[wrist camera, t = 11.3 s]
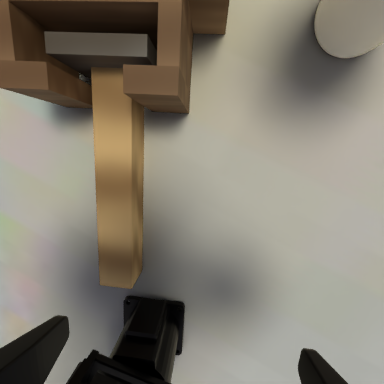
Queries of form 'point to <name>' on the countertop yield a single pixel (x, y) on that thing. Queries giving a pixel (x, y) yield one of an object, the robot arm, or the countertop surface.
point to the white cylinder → (349, 26)
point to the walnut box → (105, 23)
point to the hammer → (113, 143)
